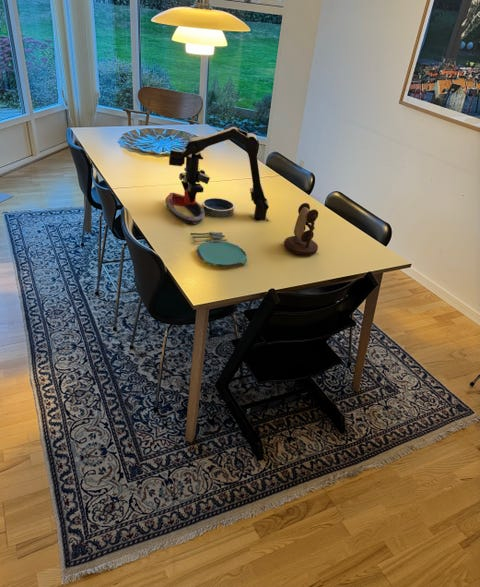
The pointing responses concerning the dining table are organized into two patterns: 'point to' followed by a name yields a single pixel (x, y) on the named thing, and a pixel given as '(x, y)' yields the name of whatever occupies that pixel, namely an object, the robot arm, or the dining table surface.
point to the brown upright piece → (303, 232)
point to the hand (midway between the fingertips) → (189, 199)
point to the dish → (194, 208)
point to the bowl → (218, 207)
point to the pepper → (186, 198)
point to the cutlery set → (219, 251)
